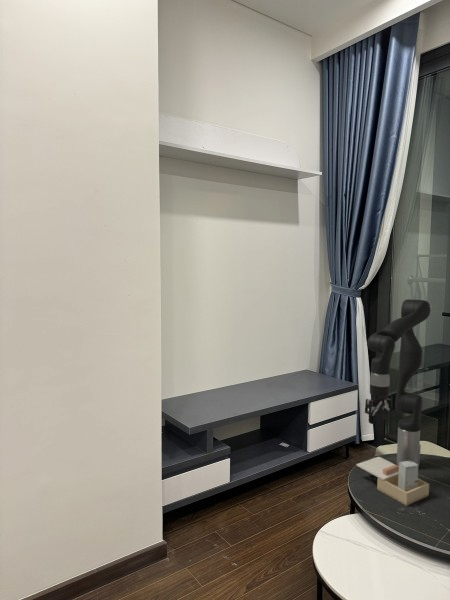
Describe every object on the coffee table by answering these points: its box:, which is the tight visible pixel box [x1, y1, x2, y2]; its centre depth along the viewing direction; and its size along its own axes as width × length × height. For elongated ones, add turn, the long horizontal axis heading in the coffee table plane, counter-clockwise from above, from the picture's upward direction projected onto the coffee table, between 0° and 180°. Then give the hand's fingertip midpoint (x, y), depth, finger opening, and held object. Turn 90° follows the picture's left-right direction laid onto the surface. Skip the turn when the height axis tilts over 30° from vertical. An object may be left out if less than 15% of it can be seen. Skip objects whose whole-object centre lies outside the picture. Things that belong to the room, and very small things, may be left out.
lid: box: [356, 456, 399, 480], centre depth 178 cm, size 14×14×3 cm
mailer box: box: [376, 475, 430, 507], centre depth 170 cm, size 14×14×5 cm
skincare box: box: [398, 461, 419, 492], centre depth 168 cm, size 6×4×12 cm
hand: (378, 421), depth 176 cm, fingers open, 8 cm apart
